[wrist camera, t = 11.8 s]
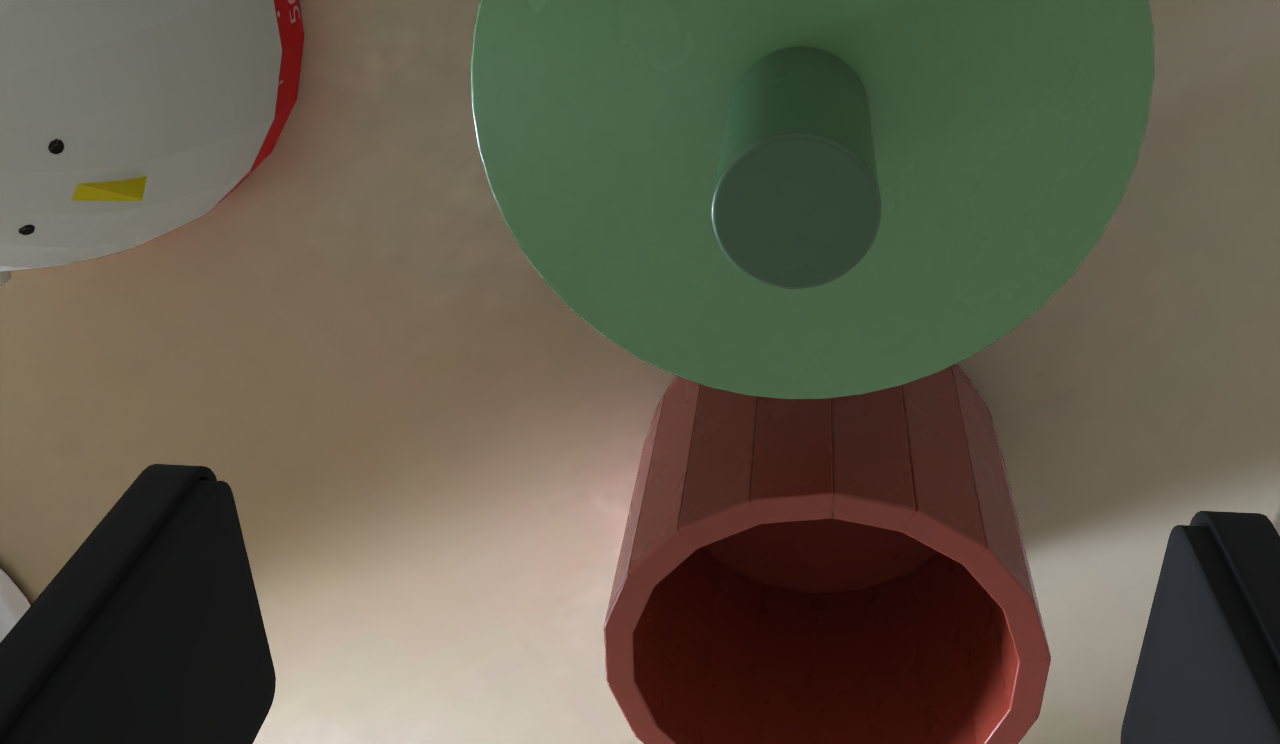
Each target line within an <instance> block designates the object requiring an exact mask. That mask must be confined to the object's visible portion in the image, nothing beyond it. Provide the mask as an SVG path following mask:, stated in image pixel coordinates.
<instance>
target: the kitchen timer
mask: <svg viewBox="0 0 1280 744" xmlns="http://www.w3.org/2000/svg"><path fill="white" fill-rule="evenodd" d="M303 41H304V31H303V25H302V19H301V12H300V6H299V0H0V288H1V287H2V286H4V285H5V284H6V283H7V282H8V281H9V280H10V278H11V272H12V270H22V269H32V268H42V267H51V266H60V265H65V264H69V263H74V262H79V261H84V260H88V259H93V258H97V257H101V256H106V255H110V254H114V253H118V252H121V251H124V250H128V249H131V248H134V247H136V246H138V245H140V244H143V243H145V242H147V241H149V240H151V239H154V238H156V237H158V236H160V235H162V234H164V233H167V232H169V231H171V230H173V229H175V228H178V227H180V226H182V225H184V224H186V223H189V222H191V221H193V220H195V219H197V218H199V217H201V216H202V215H204V214H206V213H207V212H209V211H211V210H212V209H213V208H214V207H215V206H216V205H217V204H218V203H219V202H221V201H222V200H223V199H224V198H225V197H226V196H227V195H228V194H230V193H231V192H232V191H233V190H234V189H235V188H236V187H237V186H238V185H239V184H240V183H241V182H242V181H243V180H244V179H245V178H246V177H247V176H248V175H249V174H250V173H251V172H252V171H253V170H254V169H255V168H256V167H257V166H258V165H259V164H260V163H261V162H262V161H263V160H264V159H265V158H266V157H267V156H268V155H269V154H270V153H271V152H272V150H273V148H274V146H275V144H276V142H277V140H278V138H279V135H280V133H281V131H282V129H283V127H284V125H285V123H286V120H287V118H288V116H289V114H290V112H291V110H292V108H293V106H294V103H295V101H296V99H297V91H298V82H299V74H300V66H301V57H302V49H303Z"/></svg>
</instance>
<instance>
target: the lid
mask: <svg viewBox="0 0 1280 744" xmlns="http://www.w3.org/2000/svg"><path fill="white" fill-rule="evenodd" d="M1153 78H1154V46H1153V24H1152V18H1151V11H1150V5H1149V0H480V3H479V8H478V12H477V16H476V20H475V26H474V36H473V46H472V56H471V96H472V112H473V118H474V124H475V130H476V136H477V142H478V149H479V152H480V155H481V159H482V162H483V165H484V169H485V172H486V175H487V179H488V182H489V186H490V188H491V191H492V193H493V195H494V197H495V200H496V202H497V204H498V206H499V209H500V211H501V213H502V216H503V218H504V220H505V222H506V224H507V226H508V228H509V229H510V231H511V233H512V234H513V236H514V238H515V239H516V241H517V243H518V244H519V246H520V248H521V249H522V251H523V253H524V254H525V256H526V258H527V259H528V260H529V262H530V263H531V264H532V265H533V267H534V268H535V269H536V271H537V272H538V273H539V274H540V276H541V277H542V278H543V280H544V281H545V282H546V283H547V285H548V286H549V287H550V288H551V289H552V290H553V291H554V292H555V293H556V294H557V295H558V296H559V297H560V299H561V300H562V301H563V302H564V303H565V304H566V305H567V306H568V307H569V308H570V309H571V310H572V311H573V312H574V313H575V314H576V315H577V316H579V317H580V318H581V319H583V320H584V321H585V322H586V323H588V324H589V325H590V326H591V327H593V328H594V329H595V330H596V331H598V332H599V333H600V334H601V335H603V336H604V337H605V338H606V339H608V340H610V341H611V342H613V343H614V344H616V345H618V346H619V347H621V348H623V349H624V350H626V351H627V352H629V353H631V354H632V355H634V356H635V357H637V358H639V359H641V360H643V361H645V362H647V363H649V364H651V365H653V366H656V367H658V368H660V369H662V370H664V371H666V372H668V373H671V374H673V375H675V376H678V377H681V378H684V379H687V380H690V381H693V382H696V383H699V384H702V385H705V386H708V387H711V388H716V389H721V390H725V391H730V392H735V393H739V394H744V395H750V396H760V397H770V398H779V399H826V398H834V397H843V396H851V395H859V394H865V393H870V392H874V391H878V390H882V389H887V388H891V387H895V386H900V385H903V384H906V383H909V382H911V381H914V380H917V379H920V378H923V377H926V376H928V375H931V374H934V373H937V372H939V371H941V370H944V369H946V368H948V367H950V366H952V365H954V364H956V363H958V362H960V361H962V360H964V359H966V358H968V357H970V356H972V355H974V354H976V353H978V352H979V351H981V350H982V349H984V348H986V347H987V346H989V345H990V344H992V343H993V342H995V341H997V340H998V339H1000V338H1001V337H1003V336H1004V335H1006V334H1008V333H1009V332H1011V331H1012V330H1013V329H1014V328H1015V327H1017V326H1018V325H1019V324H1020V323H1022V322H1023V321H1024V320H1025V319H1027V318H1028V317H1029V316H1030V315H1031V314H1033V313H1034V312H1035V311H1036V310H1038V309H1039V308H1040V307H1041V306H1042V305H1043V304H1044V303H1045V302H1046V301H1047V300H1048V299H1049V298H1050V297H1051V296H1052V295H1053V294H1054V293H1055V292H1056V291H1057V290H1058V289H1059V288H1060V287H1061V286H1062V285H1063V284H1064V283H1065V282H1066V281H1067V280H1068V279H1069V278H1070V277H1071V275H1072V274H1073V273H1074V272H1075V270H1076V269H1077V268H1078V266H1079V265H1080V264H1081V262H1082V261H1083V260H1084V258H1085V257H1086V256H1087V254H1088V253H1089V252H1090V250H1091V249H1092V248H1093V246H1094V245H1095V244H1096V243H1097V241H1098V239H1099V238H1100V236H1101V234H1102V233H1103V231H1104V229H1105V227H1106V226H1107V224H1108V222H1109V220H1110V219H1111V217H1112V215H1113V214H1114V212H1115V210H1116V208H1117V207H1118V205H1119V203H1120V201H1121V198H1122V196H1123V194H1124V191H1125V189H1126V186H1127V184H1128V182H1129V179H1130V177H1131V174H1132V172H1133V170H1134V167H1135V165H1136V162H1137V159H1138V155H1139V151H1140V148H1141V144H1142V140H1143V136H1144V133H1145V129H1146V125H1147V122H1148V116H1149V108H1150V101H1151V93H1152V85H1153Z"/></svg>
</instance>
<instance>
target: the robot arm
mask: <svg viewBox="0 0 1280 744" xmlns="http://www.w3.org/2000/svg"><path fill="white" fill-rule="evenodd" d="M275 680H276V678H275V671H274V666H273V662H272V658H271V654H270V649H269V645H268V641H267V637H266V632H265V628H264V624H263V620H262V615H261V611H260V607H259V603H258V599H257V594H256V590H255V586H254V582H253V577H252V573H251V569H250V565H249V560H248V556H247V552H246V548H245V544H244V539H243V535H242V531H241V527H240V522H239V518H238V514H237V510H236V505H235V501H234V497H233V493H232V490H231V488H230V486H229V485H228V483H226V482H224V481H217V479H216V476H215V474H214V473H213V472H212V470H211V469H210V468H207V467H205V466H187V465H165V464H154V465H150V466H148V467H147V468H146V469H145V470H143V471H142V473H141V474H140V475H139V476H138V477H137V479H136V480H135V481H134V482H133V483H132V485H131V486H130V487H129V488H128V489H127V491H126V492H125V493H124V494H123V495H122V497H121V498H120V499H119V500H118V502H117V503H116V504H115V505H114V506H113V508H112V509H111V510H110V511H109V512H108V514H107V515H106V516H105V517H104V518H103V520H102V521H101V522H100V523H99V524H98V526H97V527H96V528H95V529H94V530H93V532H92V533H91V534H90V535H89V536H88V538H87V539H86V540H85V541H84V542H83V544H82V545H81V546H80V547H79V549H78V550H77V551H76V552H75V553H74V555H73V556H72V557H71V558H70V559H69V561H68V562H67V563H66V564H65V565H64V567H63V568H62V569H61V570H60V571H59V573H58V574H57V575H56V576H55V577H54V579H53V580H52V581H51V582H50V583H49V585H48V586H47V587H46V588H45V590H44V591H43V592H42V593H41V594H40V596H39V597H38V598H37V599H36V600H35V602H34V603H33V604H32V605H30V604H29V602H28V600H27V599H26V597H25V595H24V594H23V593H22V592H21V591H20V589H19V588H18V587H17V586H16V585H15V583H14V582H13V581H12V580H11V579H10V577H9V576H8V575H7V574H6V573H5V572H4V571H3V570H2V569H1V568H0V744H252V743H253V742H254V740H255V738H256V736H257V734H258V732H259V730H260V728H261V726H262V724H263V722H264V720H265V718H266V716H267V714H268V712H269V710H270V707H271V705H272V702H273V698H274V693H275ZM1121 744H1280V536H1279V535H1278V533H1277V531H1276V529H1275V528H1274V526H1273V524H1272V523H1271V521H1270V520H1269V519H1268V518H1267V516H1265V515H1262V514H1257V513H1235V512H1212V511H1200V512H1198V513H1196V514H1195V516H1194V517H1193V518H1192V520H1191V523H1190V526H1185V525H1177V526H1175V527H1174V528H1173V530H1172V531H1171V534H1170V537H1169V540H1168V544H1167V548H1166V552H1165V556H1164V560H1163V564H1162V568H1161V572H1160V576H1159V580H1158V584H1157V588H1156V592H1155V596H1154V600H1153V604H1152V608H1151V612H1150V616H1149V620H1148V624H1147V628H1146V632H1145V636H1144V640H1143V644H1142V648H1141V652H1140V657H1139V661H1138V665H1137V669H1136V673H1135V677H1134V681H1133V685H1132V689H1131V693H1130V697H1129V701H1128V705H1127V709H1126V713H1125V717H1124V721H1123V725H1122V731H1121Z"/></svg>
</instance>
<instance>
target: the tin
mask: <svg viewBox="0 0 1280 744" xmlns="http://www.w3.org/2000/svg"><path fill="white" fill-rule="evenodd" d="M604 642H605V662H606V681H607V683H608V685H609V687H610V689H611V691H612V693H613V695H614V697H615V699H616V701H617V703H618V705H619V706H620V708H621V710H622V712H623V714H624V716H625V718H626V720H627V722H628V724H629V725H630V727H631V729H632V731H633V732H634V735H635V736H636V737H637V738H638V739H639V740H640V741H642V742H643V743H644V744H1018V743H1019V742H1020V741H1021V739H1022V738H1023V737H1024V735H1025V734H1026V733H1027V731H1028V730H1029V729H1030V727H1031V726H1032V725H1033V724H1034V722H1035V721H1036V720H1037V718H1038V716H1039V714H1040V709H1041V704H1042V700H1043V695H1044V690H1045V685H1046V680H1047V675H1048V671H1049V666H1050V661H1051V659H1050V658H1051V656H1050V651H1049V647H1048V643H1047V639H1046V635H1045V631H1044V627H1043V622H1042V618H1041V614H1040V610H1039V606H1038V602H1037V597H1036V593H1035V589H1034V585H1033V581H1032V577H1031V573H1030V568H1029V564H1028V560H1027V556H1026V552H1025V548H1024V543H1023V539H1022V535H1021V531H1020V527H1019V523H1018V519H1017V514H1016V510H1015V506H1014V502H1013V498H1012V494H1011V489H1010V485H1009V481H1008V477H1007V473H1006V469H1005V465H1004V460H1003V457H1002V453H1001V450H1000V446H999V443H998V439H997V436H996V432H995V429H994V425H993V421H992V418H991V415H990V411H989V409H988V407H987V406H986V405H985V402H984V401H983V399H982V398H981V396H980V394H979V393H978V391H977V390H976V388H975V387H974V385H973V384H972V382H971V381H970V380H969V379H968V378H967V377H966V375H965V374H964V373H963V372H962V371H961V370H960V369H959V367H957V366H956V365H955V364H954V365H952V366H950V367H948V368H946V369H944V370H941V371H939V372H937V373H934V374H931V375H928V376H926V377H923V378H920V379H917V380H914V381H911V382H909V383H906V384H903V385H900V386H895V387H891V388H887V389H882V390H878V391H874V392H870V393H865V394H859V395H851V396H843V397H834V398H826V399H779V398H770V397H760V396H750V395H744V394H739V393H735V392H730V391H725V390H721V389H716V388H711V387H708V386H705V385H702V384H699V383H696V382H693V381H690V380H687V379H684V378H681V377H678V376H677V377H676V378H675V380H674V381H673V382H672V383H671V385H670V386H669V387H668V389H667V391H666V392H665V394H664V396H663V397H662V399H661V401H660V403H659V404H658V407H657V410H656V412H655V415H654V417H653V420H652V423H651V427H650V429H649V432H648V434H647V437H646V439H645V442H644V447H643V451H642V456H641V460H640V465H639V469H638V474H637V478H636V483H635V488H634V492H633V497H632V501H631V506H630V510H629V515H628V519H627V524H626V529H625V533H624V538H623V542H622V547H621V551H620V556H619V560H618V565H617V570H616V574H615V579H614V583H613V588H612V592H611V597H610V601H609V606H608V611H607V615H606V620H605V624H604Z"/></svg>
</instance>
